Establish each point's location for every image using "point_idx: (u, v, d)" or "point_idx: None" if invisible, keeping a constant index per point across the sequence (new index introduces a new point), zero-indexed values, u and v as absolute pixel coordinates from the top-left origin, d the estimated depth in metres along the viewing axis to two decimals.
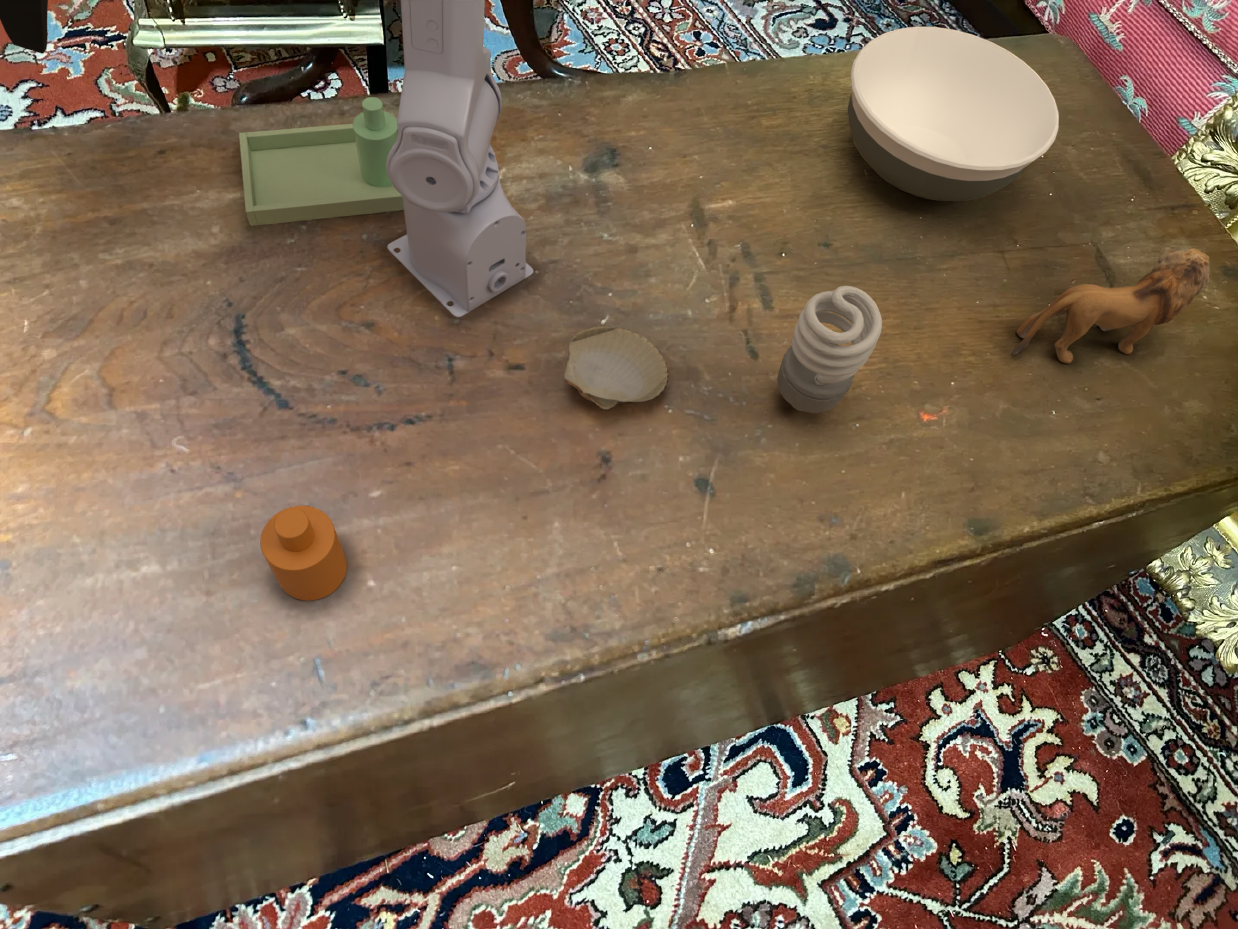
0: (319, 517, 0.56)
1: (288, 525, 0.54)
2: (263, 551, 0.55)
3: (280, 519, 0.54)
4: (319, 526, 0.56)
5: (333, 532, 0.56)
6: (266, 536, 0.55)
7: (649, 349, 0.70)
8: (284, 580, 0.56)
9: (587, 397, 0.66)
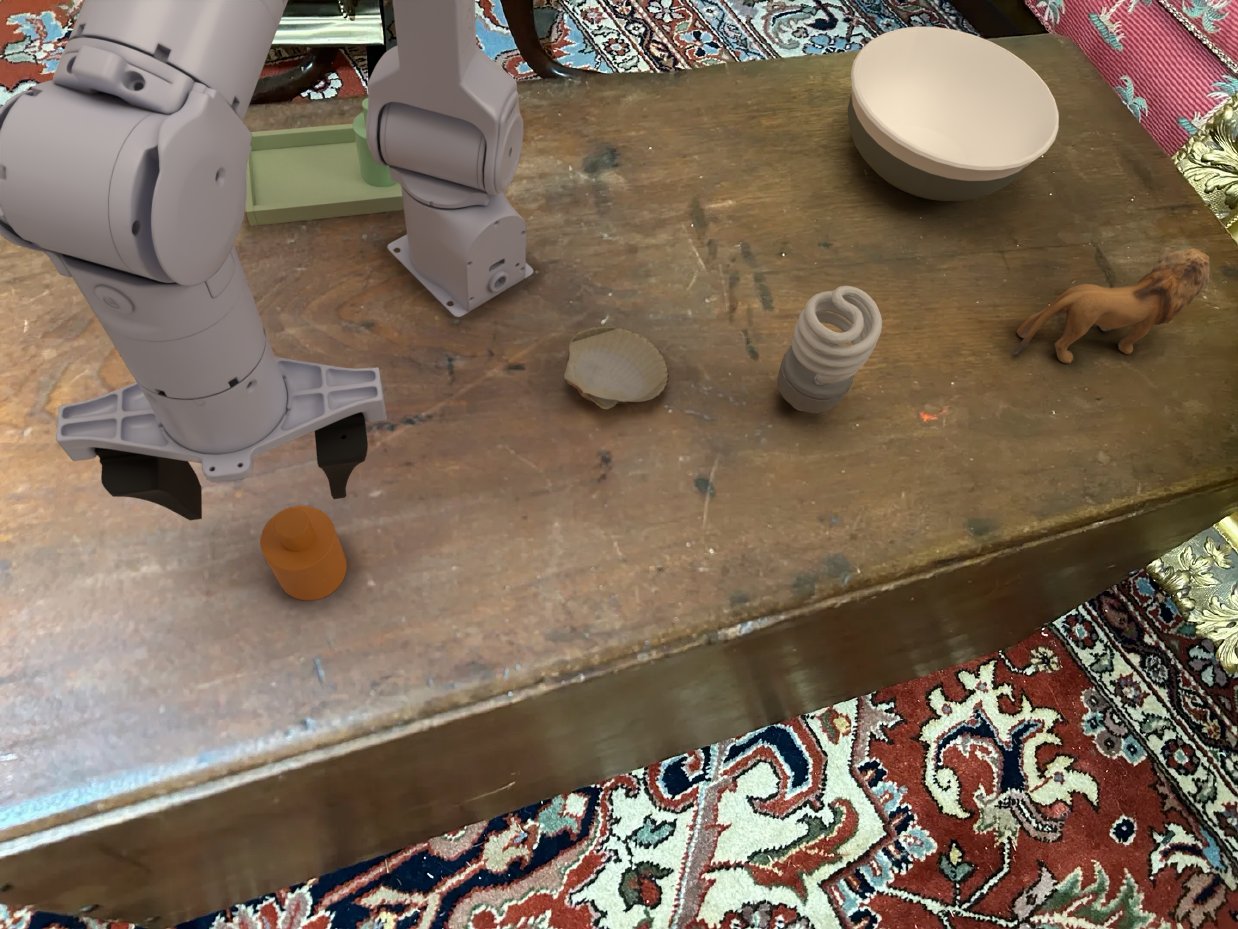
0: (319, 517, 0.56)
1: (288, 525, 0.54)
2: (263, 551, 0.55)
3: (280, 519, 0.54)
4: (319, 526, 0.56)
5: (333, 532, 0.56)
6: (266, 536, 0.55)
7: (649, 349, 0.70)
8: (284, 580, 0.56)
9: (587, 397, 0.66)
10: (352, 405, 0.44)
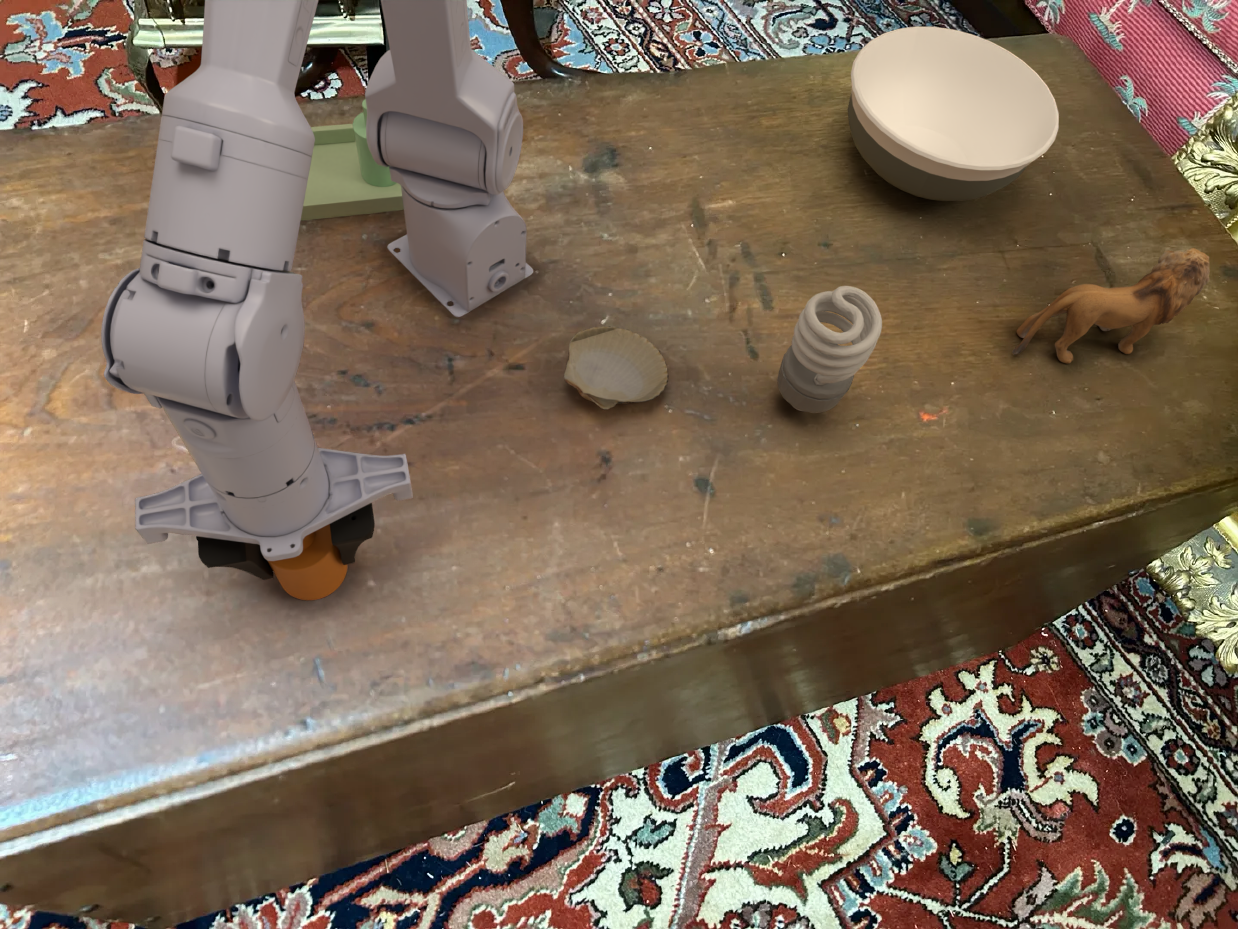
0: None
1: None
2: None
3: None
4: None
5: None
6: None
7: (649, 349, 0.70)
8: (285, 580, 0.56)
9: (587, 397, 0.66)
10: (385, 489, 0.51)
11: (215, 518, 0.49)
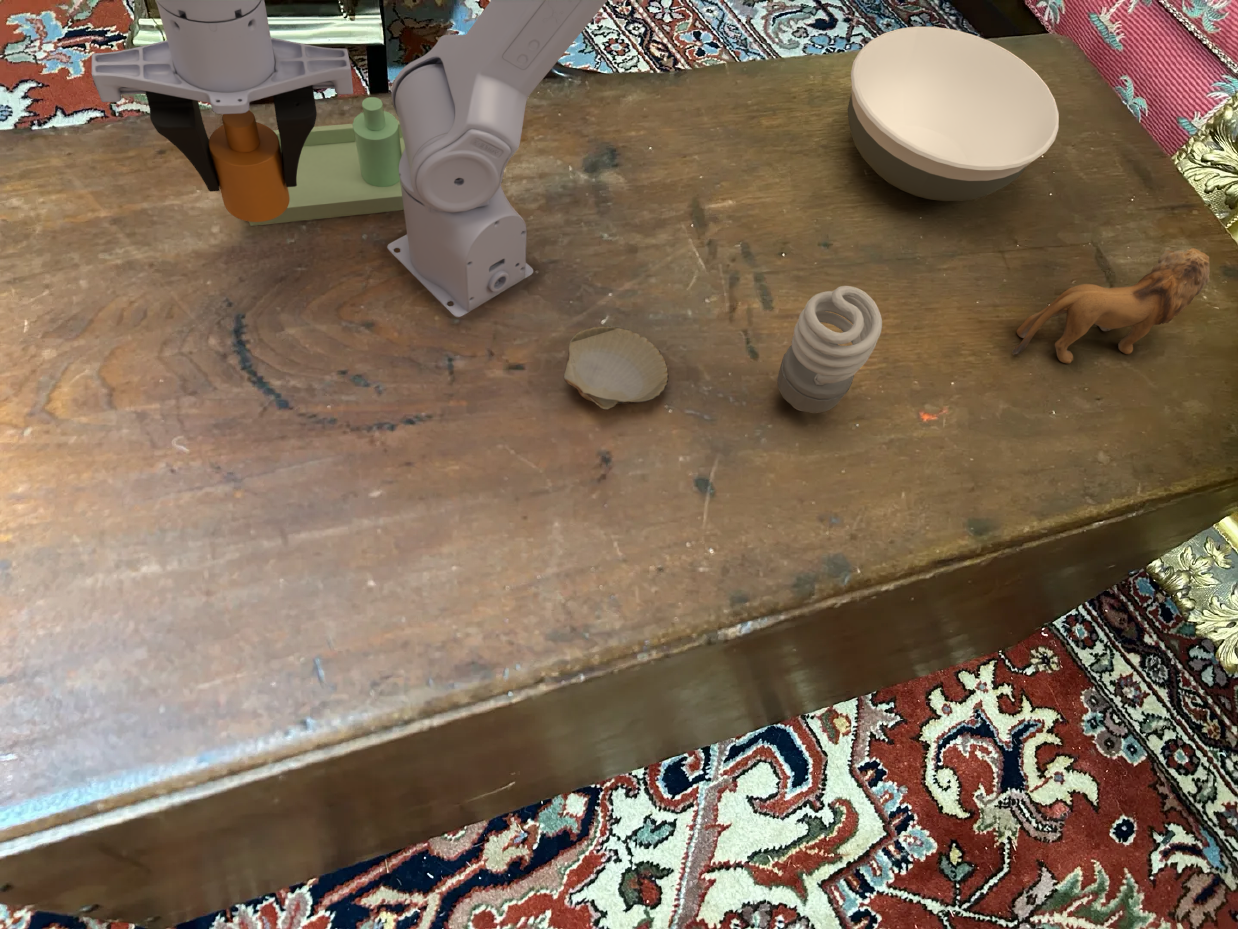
0: (265, 130, 0.61)
1: (235, 118, 0.58)
2: (211, 149, 0.59)
3: None
4: (264, 136, 0.60)
5: (278, 142, 0.60)
6: (215, 139, 0.59)
7: (649, 349, 0.70)
8: (230, 186, 0.60)
9: (587, 397, 0.66)
10: (327, 70, 0.56)
11: (167, 78, 0.54)
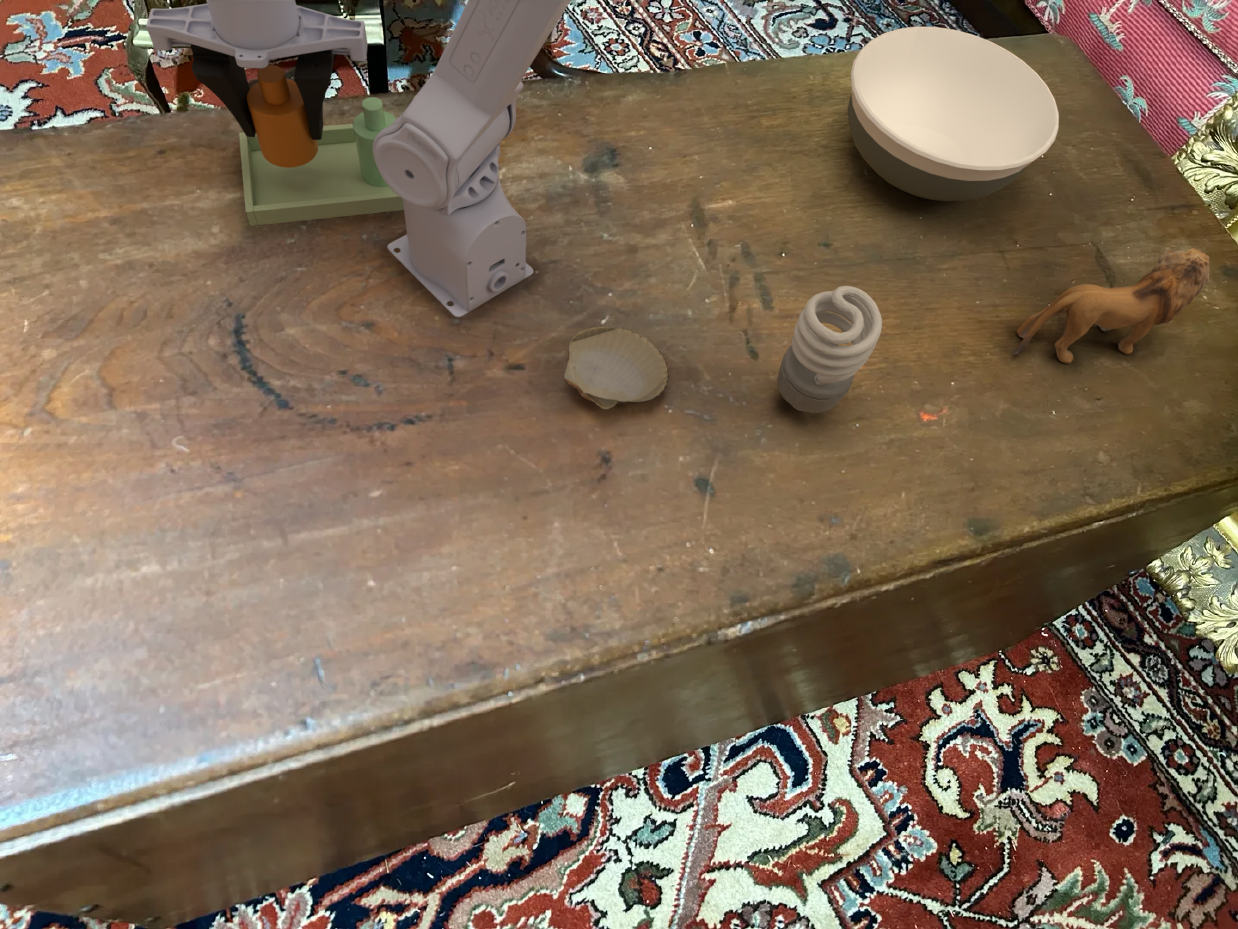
0: (297, 87, 0.70)
1: (268, 74, 0.67)
2: (247, 99, 0.68)
3: (263, 70, 0.67)
4: (295, 93, 0.69)
5: None
6: (253, 91, 0.69)
7: (649, 349, 0.70)
8: (261, 133, 0.70)
9: (587, 397, 0.66)
10: (341, 38, 0.64)
11: (207, 34, 0.63)
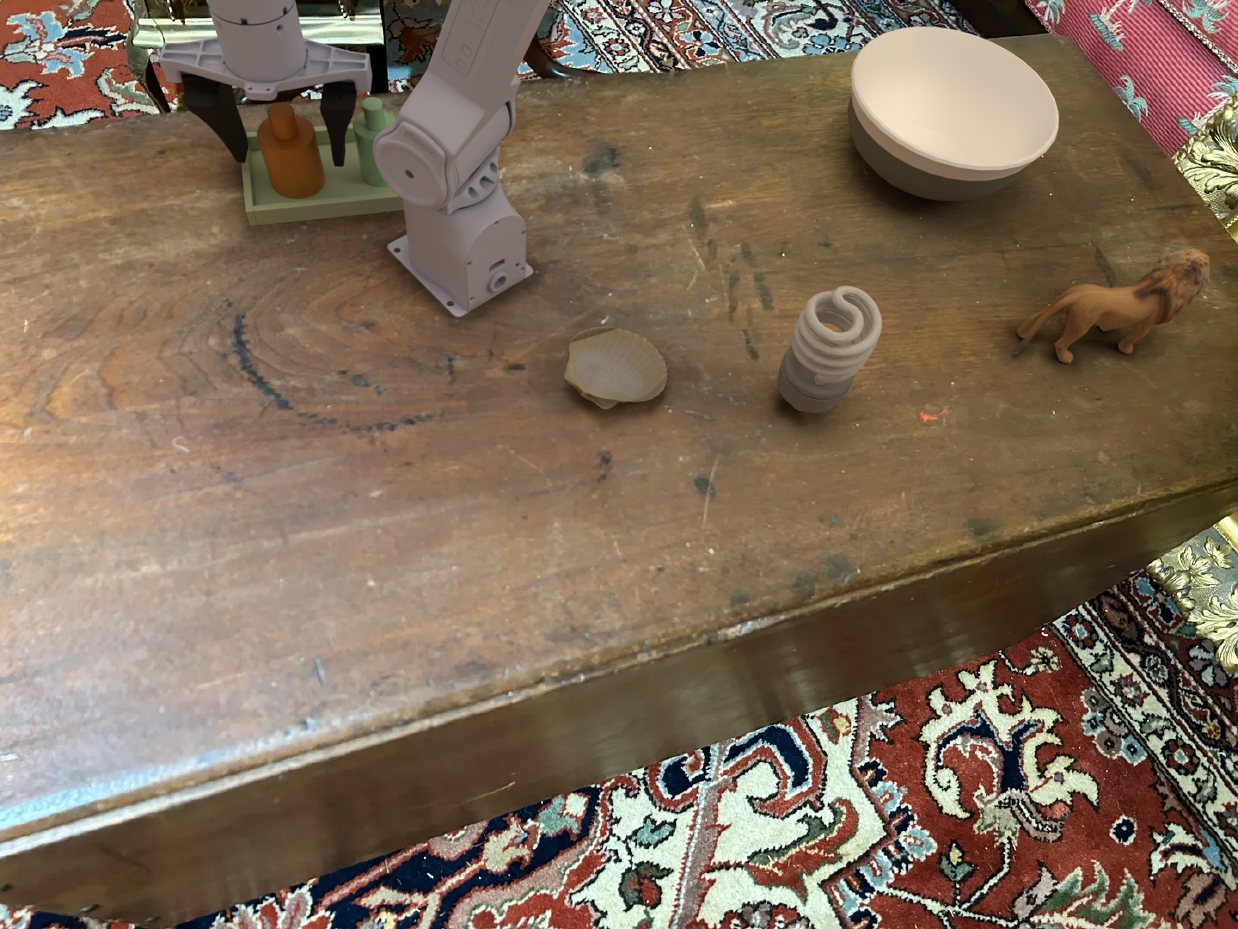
0: (305, 122, 0.72)
1: (277, 111, 0.70)
2: (258, 135, 0.71)
3: (273, 107, 0.70)
4: (303, 128, 0.72)
5: (313, 133, 0.72)
6: (263, 126, 0.72)
7: (649, 349, 0.70)
8: (271, 166, 0.72)
9: (587, 397, 0.66)
10: (346, 70, 0.66)
11: (218, 67, 0.65)
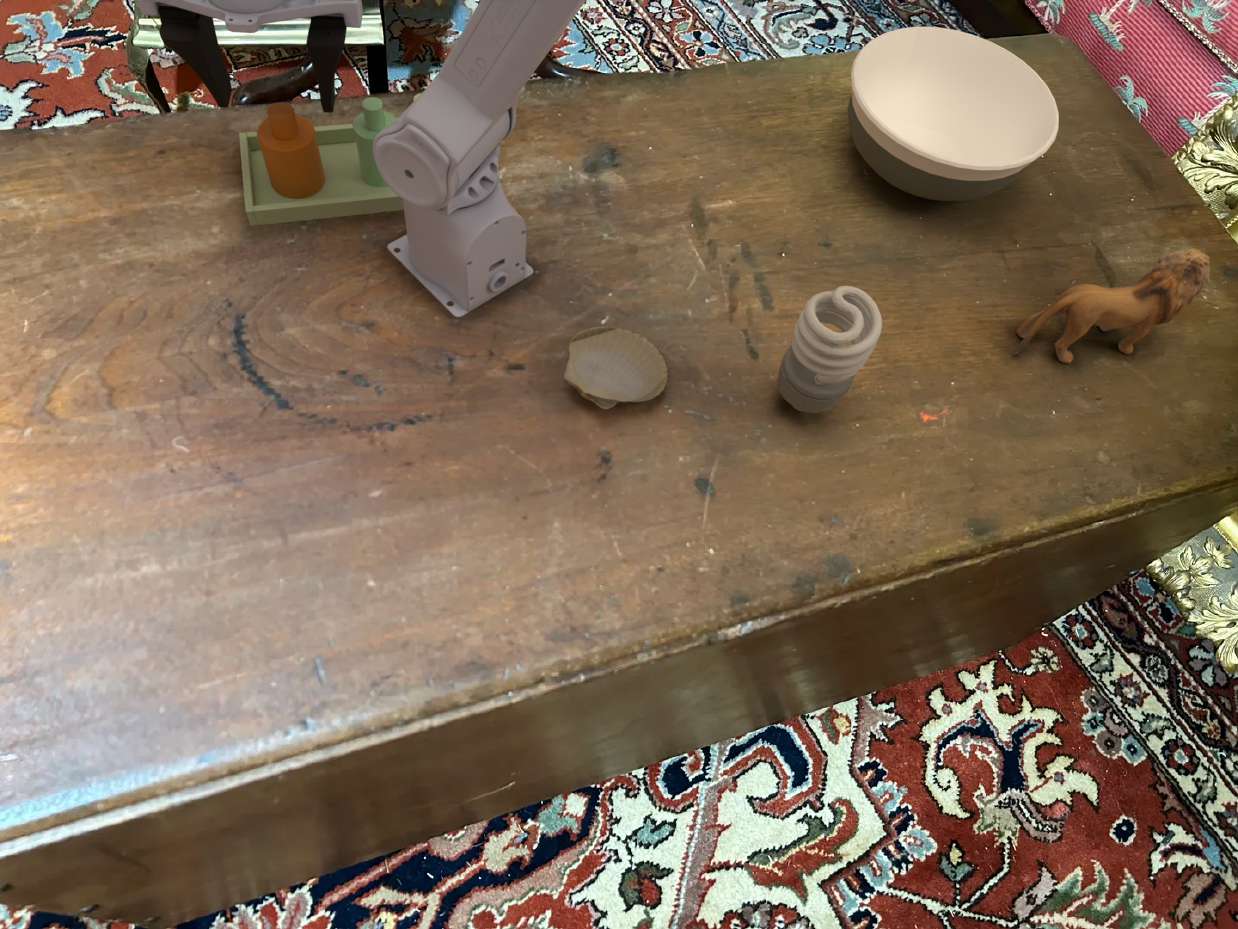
0: (305, 122, 0.72)
1: (277, 111, 0.70)
2: (258, 135, 0.71)
3: (273, 107, 0.70)
4: (303, 128, 0.72)
5: (313, 133, 0.72)
6: (263, 126, 0.72)
7: (649, 349, 0.70)
8: (271, 166, 0.72)
9: (587, 397, 0.66)
10: (335, 2, 0.62)
11: None
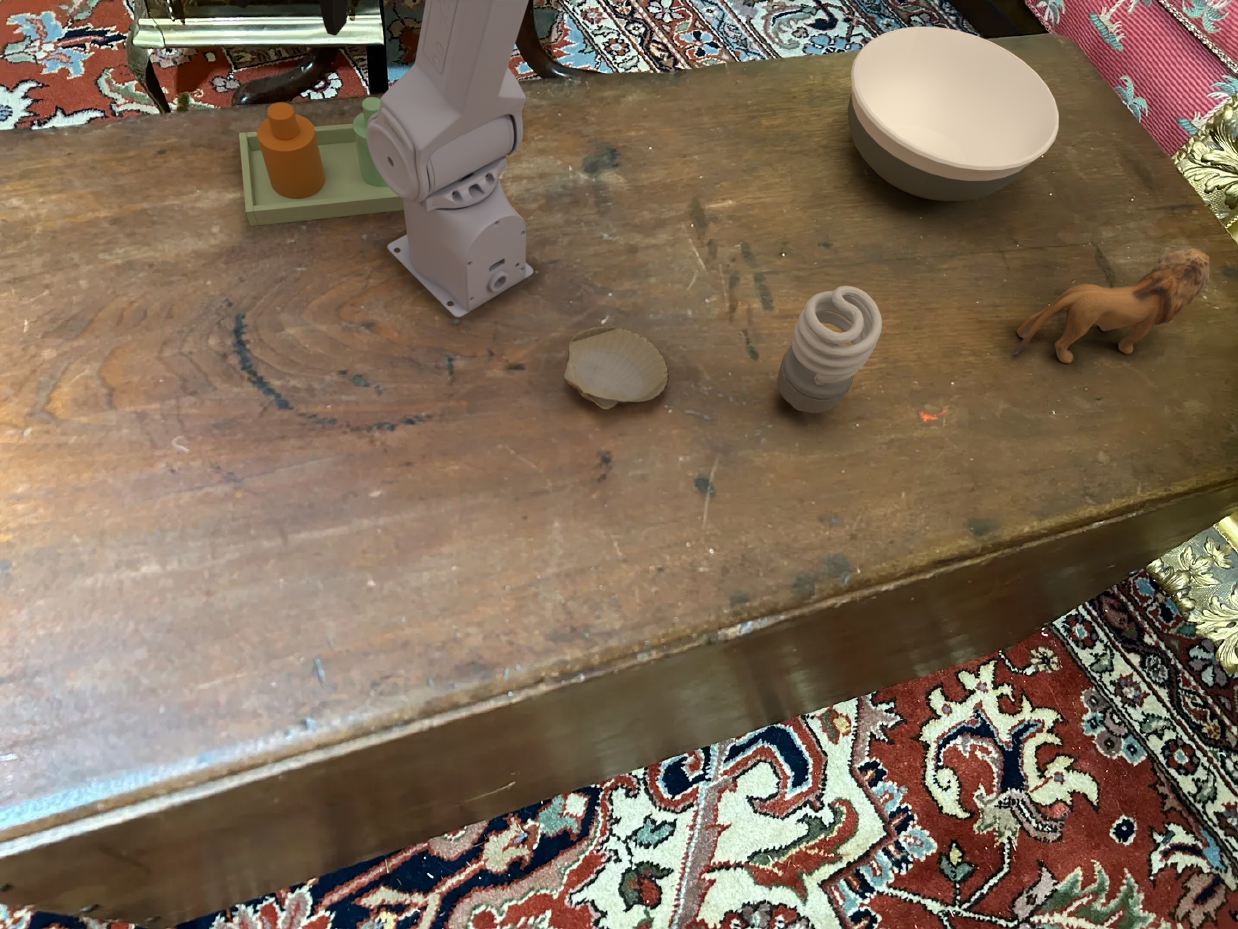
0: (305, 122, 0.72)
1: (277, 111, 0.70)
2: (258, 135, 0.71)
3: (273, 107, 0.70)
4: (303, 128, 0.72)
5: (313, 133, 0.72)
6: (263, 126, 0.72)
7: (649, 349, 0.70)
8: (271, 166, 0.72)
9: (587, 397, 0.66)
10: None
11: None
